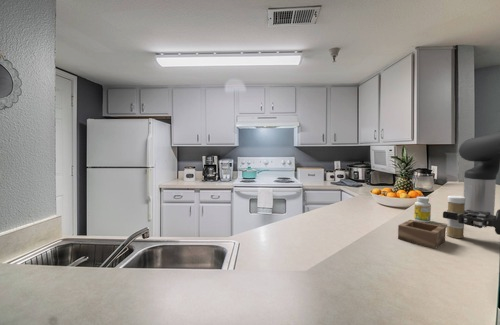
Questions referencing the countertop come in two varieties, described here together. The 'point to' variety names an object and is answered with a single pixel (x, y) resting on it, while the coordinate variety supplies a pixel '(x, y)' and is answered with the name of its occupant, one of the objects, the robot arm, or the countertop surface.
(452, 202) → the sprinkles bottle
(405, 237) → the box
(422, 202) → the supplement bottle
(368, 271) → the countertop surface
